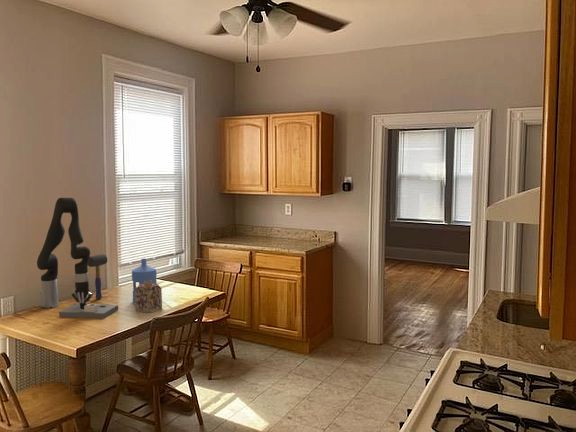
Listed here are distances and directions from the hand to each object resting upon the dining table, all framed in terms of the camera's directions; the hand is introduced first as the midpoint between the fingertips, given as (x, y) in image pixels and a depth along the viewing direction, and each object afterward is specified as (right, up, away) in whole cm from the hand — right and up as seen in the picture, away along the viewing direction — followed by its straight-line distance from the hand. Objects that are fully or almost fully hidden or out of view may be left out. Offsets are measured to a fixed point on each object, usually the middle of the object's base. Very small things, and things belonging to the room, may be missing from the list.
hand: (83, 308), depth 300 cm
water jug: (+27, -1, +33) cm, 43 cm away
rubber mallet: (-5, -1, +38) cm, 39 cm away
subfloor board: (+2, -4, +5) cm, 7 cm away
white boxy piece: (+5, -1, 0) cm, 5 cm away
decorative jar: (+36, -3, +12) cm, 38 cm away
